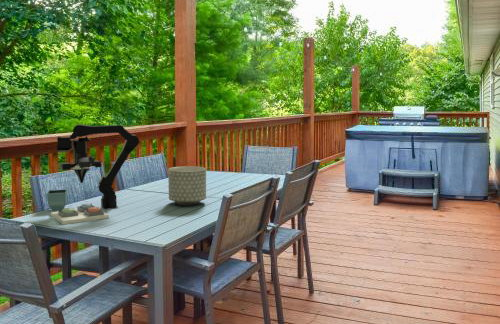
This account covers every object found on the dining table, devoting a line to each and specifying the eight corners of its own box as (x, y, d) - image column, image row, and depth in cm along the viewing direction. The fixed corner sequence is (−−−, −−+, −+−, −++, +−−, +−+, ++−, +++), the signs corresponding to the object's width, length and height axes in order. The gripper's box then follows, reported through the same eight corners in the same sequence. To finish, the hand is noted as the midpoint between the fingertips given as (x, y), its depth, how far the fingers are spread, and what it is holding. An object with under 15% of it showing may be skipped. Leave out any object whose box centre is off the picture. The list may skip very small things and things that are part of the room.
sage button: (72, 212, 231) (71, 207, 230) (75, 214, 227) (75, 209, 227) (61, 214, 228) (61, 208, 228) (64, 216, 224) (64, 210, 224)
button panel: (94, 210, 244) (93, 203, 244) (108, 218, 228) (108, 211, 228) (51, 215, 233) (50, 209, 232) (63, 224, 217) (63, 217, 216)
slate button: (90, 208, 241) (90, 202, 240) (93, 209, 237) (93, 204, 236) (80, 209, 238) (79, 204, 237) (83, 211, 234) (83, 205, 234)
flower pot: (47, 212, 240) (46, 193, 239) (49, 208, 248) (48, 190, 247) (66, 211, 242) (66, 192, 241) (68, 207, 251) (67, 189, 249)
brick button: (97, 211, 232) (97, 206, 232) (101, 213, 229) (100, 208, 228) (87, 213, 230) (86, 207, 229) (90, 215, 226) (90, 209, 225)
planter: (199, 208, 248) (199, 172, 246) (163, 206, 252) (162, 170, 250) (210, 200, 267) (210, 166, 264) (176, 199, 270) (175, 165, 268)
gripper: (65, 153, 230) (66, 187, 232) (105, 151, 241) (106, 183, 243) (58, 151, 239) (59, 183, 241) (97, 149, 250) (98, 180, 252)
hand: (81, 182), depth 244 cm, fingers closed
